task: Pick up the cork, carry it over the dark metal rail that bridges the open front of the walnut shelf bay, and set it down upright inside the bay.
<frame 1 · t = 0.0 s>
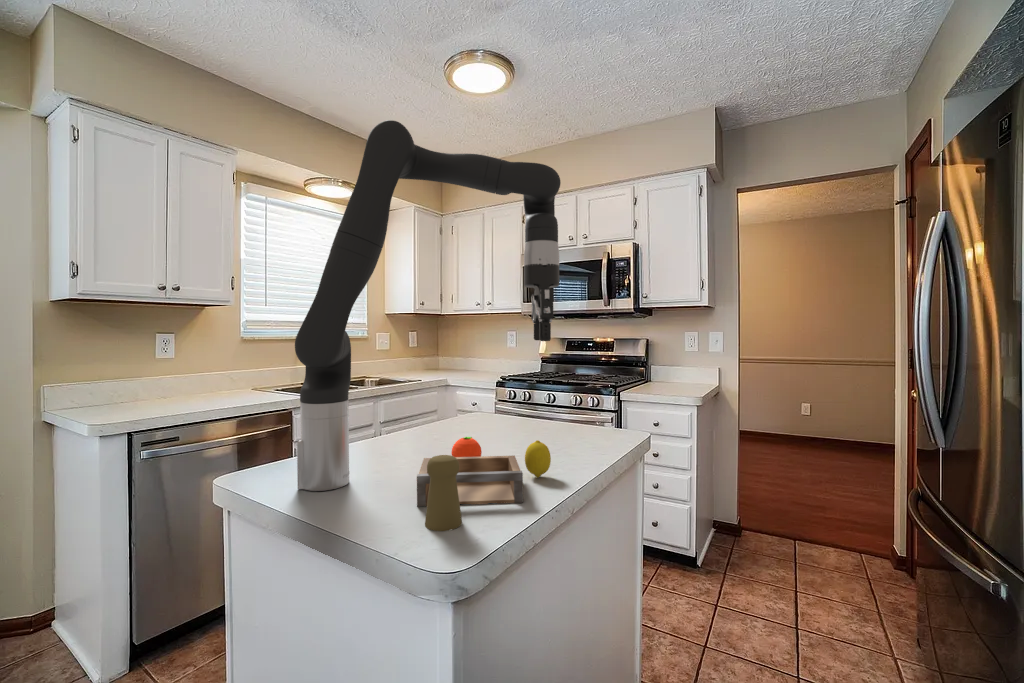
hand: (541, 340, 103), 29 cm above the countertop, tool pointing down, fingers open, 8 cm apart
clementine: (467, 467, 112), on the countertop
shelf bay: (470, 492, 94), on the countertop
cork: (443, 524, 79), on the countertop
lemon: (537, 478, 103), on the countertop
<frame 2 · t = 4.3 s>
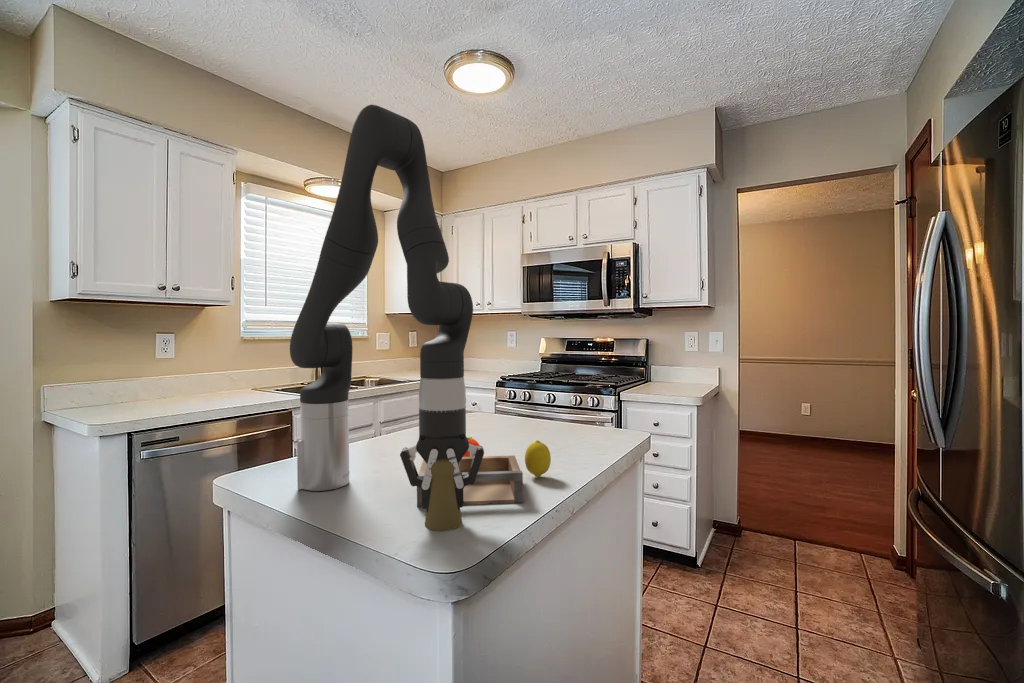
hand: (443, 509, 78), 2 cm above the countertop, tool pointing down, fingers closed on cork, 4 cm apart
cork: (443, 524, 79), on the countertop, touching gripper
everything else where it was.
when the fingers open (4 cm above the countertop, at t = 10.1 s): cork stays where it is, resting on shelf bay.
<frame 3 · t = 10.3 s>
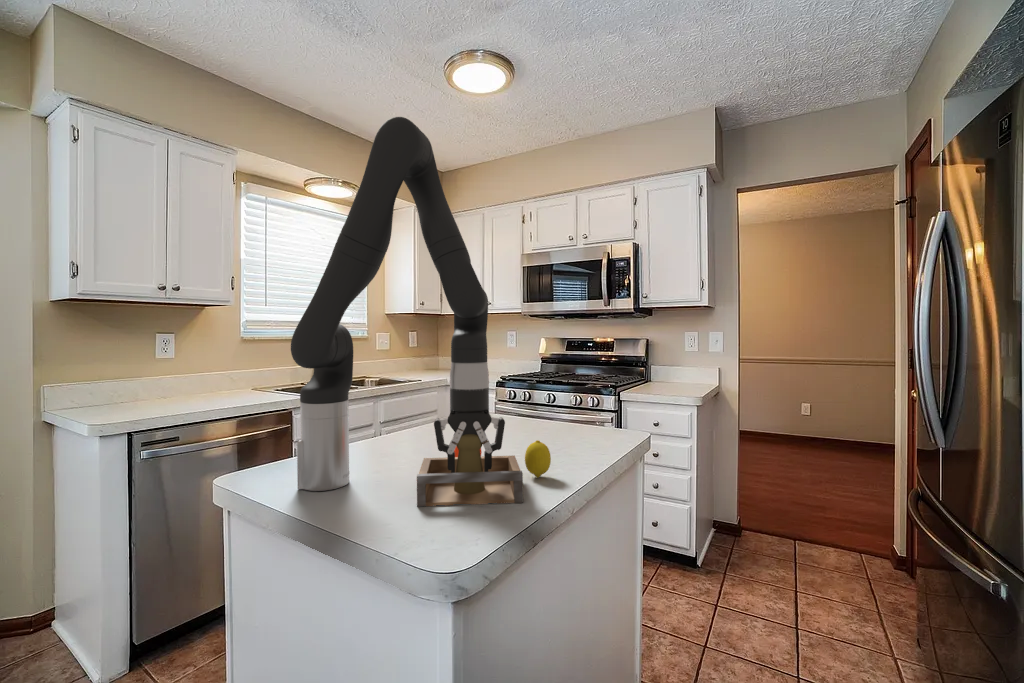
hand: (469, 471, 94), 4 cm above the countertop, tool pointing down, fingers open, 6 cm apart
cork: (469, 489, 94), resting on shelf bay
everything else where it was.
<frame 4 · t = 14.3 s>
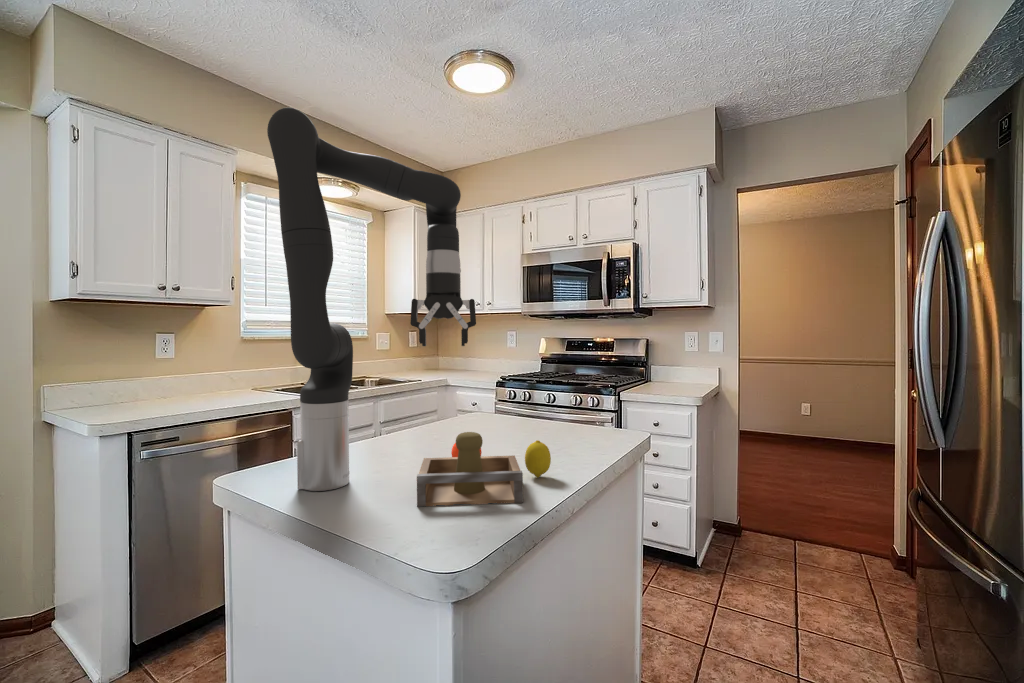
hand: (443, 346, 107), 28 cm above the countertop, tool pointing down, fingers open, 8 cm apart
nothing on the countertop moved.
at the end: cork inside the target area on the shelf bay (0.2 cm from its centre), point 0.4 cm above the shelf bay's base; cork tilted 0°; the gripper is holding nothing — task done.
